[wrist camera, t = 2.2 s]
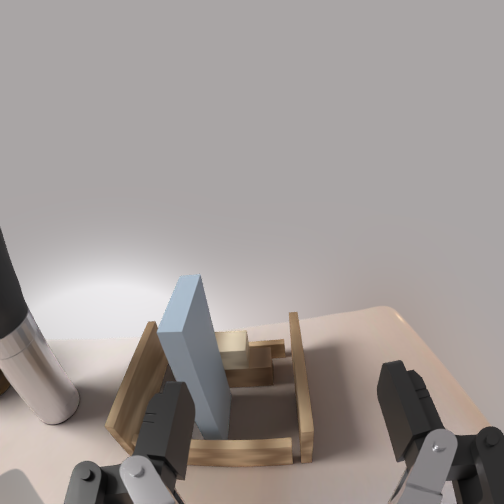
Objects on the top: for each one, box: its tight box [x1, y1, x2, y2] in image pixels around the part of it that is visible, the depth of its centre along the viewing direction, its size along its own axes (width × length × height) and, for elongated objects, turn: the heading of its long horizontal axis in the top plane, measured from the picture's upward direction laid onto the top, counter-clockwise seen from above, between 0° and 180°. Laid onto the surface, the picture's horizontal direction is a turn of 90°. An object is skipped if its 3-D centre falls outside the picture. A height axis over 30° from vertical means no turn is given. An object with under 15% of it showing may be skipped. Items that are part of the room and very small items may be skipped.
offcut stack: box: [171, 330, 273, 388], centre depth 42 cm, size 14×4×8 cm, turn 89°
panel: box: [157, 274, 232, 440], centre depth 32 cm, size 2×9×20 cm, turn 179°
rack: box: [105, 312, 314, 467], centre depth 37 cm, size 22×20×8 cm
